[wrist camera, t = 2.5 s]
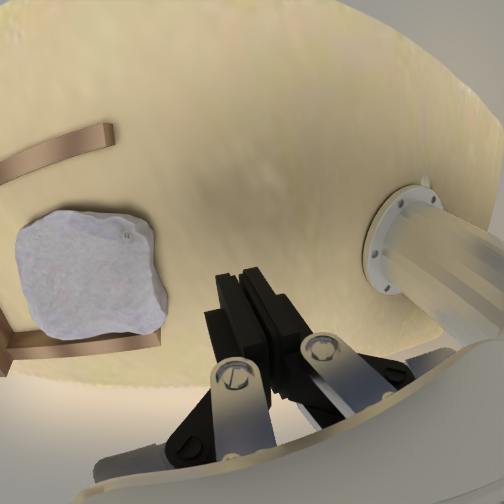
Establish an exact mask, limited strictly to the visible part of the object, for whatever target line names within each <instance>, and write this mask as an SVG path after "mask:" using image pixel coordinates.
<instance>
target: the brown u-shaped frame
mask: <svg viewBox="0 0 504 504" xmlns="http://www.w3.org/2000/svg"><path fill="white" fill-rule="evenodd" d="M112 145H115V142H114V134H113V126H112V124H108V123H101V124H97V125H94V126H90V127H87V128H84V129H81V130H78V131H75V132H72V133H69V134H66V135H63V136H60V137H57V138H55V139H52V140H49V141H47V142H44V143H42V144H39V145H37V146H35V147H32V148H30V149H28V150H25V151H23V152H21V153H19V154H16V155H14V156H12V157H10V158H8V159H6V160H4V161H2V162H0V185H1V184H4V183H6V182H8V181H10V180H12V179H15V178H17V177H19V176H22V175H24V174H27V173H29V172H31V171H34V170H37V169H39V168H42V167H44V166H47V165H50V164H53V163H56V162H58V161H61V160H64V159H67V158H70V157H73V156H77V155H80V154H83V153H86V152H90V151H93V150H97V149H100V148H104V147H108V146H112ZM157 346H161V327H160V328H158V329H157V330H155V331H154V332H153V333H151V334H146V335H141V334H136V333H132V332H123V333H118V332H111V333H105V334H100V335H97V336H94V337H90V338H84V339H74V340H60V339H56V338H52V337H50V336H47V335H46V333H45V332H44V331H42V330H39V331H30V332H20V333H14V332H13V331H12V329H11V327H10V326H9V324H8V322H7V320H6V319H5V317H4V315H3V313H2V311H1V309H0V377H6V376H7V374H8V371H9V369H10V367H11V364H12V362H13V360H24V359H48V358H63V357H76V356H87V355H97V354H106V353H114V352H122V351H130V350H137V349H144V348H150V347H157Z"/></svg>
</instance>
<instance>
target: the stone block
mask: <svg viewBox="0 0 504 504" xmlns="http://www.w3.org/2000/svg"><path fill="white" fill-rule="evenodd" d="M153 253H154V234H153V231H152V229H151V228H150V226H149V225H148V223H147V222H146V221H144V220H143V219H140V218H137V217H134V216H132V215H129V214H118V213H96V212H91V211H86V212H80V211H75V210H56V211H54V212H51V213H49V214H48V215H46V216H45V217H44V218H41V219H38V220H36V221H35V222H33V223H31V224H27V225H25V226H24V227H22V228H21V229H20V231H19V233H18V234H17V238H16V244H15V258H16V261H17V266H18V271H19V276H20V281H21V285H22V290H23V293H24V295H25V297H26V299H27V302H28V307H29V311H30V314H31V316H32V319H33V320H34V322H35V324H36V325H37V326H38V327H39V328H40V329H41V330H42V331H44V332H45V333H46V335H47V336H50V337H52V338H56V339H60V340H74V339H84V338H90V337H94V336H97V335H100V334H105V333H111V332H118V333H123V332H132V333H136V334H141V335H146V334H151V333H153V332H154V331H155V330H157V329H158V328H160V327H161V326H162V324H163V323H164V321H165V319H166V317H167V315H168V297H167V294H166V291H165V289H164V287H163V285H162V282H161V280H160V278H159V275H158V272H157V270H156V269H155V266H154V262H153Z"/></svg>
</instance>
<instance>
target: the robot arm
mask: <svg viewBox="0 0 504 504" xmlns="http://www.w3.org/2000/svg"><path fill="white" fill-rule="evenodd" d="M363 268H364V273H365V276H366V278H367V280H368V282H369V283H370V284H371V286H372V287H374V288H375V289H376V290H377V291H378V292H380V293H382V294H385V295H395V294H399V293H403V294H404V295H405V296H407V297H408V298H409V299H410V300H411V301H412V302H414V303H415V304H416V305H417V306H418V307H419V308H421V309H422V310H423V311H424V312H425V313H426V314H427V315H429V316H430V317H431V318H432V319H433V320H434V321H435V322H436V323H438V324H439V325H440V326H441V327H442V328H443V329H444V330H445V331H446V332H447V333H449V334H450V335H451V336H452V337H453V338H454V339H455V340H456V341H457V342H458V343H459V344H460V345H461V346H462V347H463V348H462V349H460V350H459V351H457V352H456V351H454V350H453V349H451V348H446V347H445V348H440V349H437V350H434V351H431V352H428V353H425V354H422V355H419V356H416V357H413V358H410V359H407V360H405V362H404V363H402V362H398V361H394V360H389V359H384V358H379V357H374V356H369V355H364V354H359V353H356V352H355V351H354V350H353V349H352V348H351V347H349V346H348V345H347V344H346V343H345V342H344V341H343V340H342V339H341V338H339V337H338V336H336V335H334V334H331V333H326V332H319V333H313V332H312V331H311V329H310V328H309V327H308V325H307V324H306V322H305V321H304V320H303V318H302V317H301V315H300V314H299V313H298V311H297V310H296V308H295V307H294V306H293V304H292V303H291V301H290V300H289V299H288V297H287V296H286V295H285V294H279V295H276V294H275V293H274V291H273V290H272V288H271V287H270V285H269V284H268V282H267V281H266V279H265V278H264V276H263V275H262V273H261V272H260V270H259V269H258V267H254V268H249V269H244V270H243V274H239V282H238V280H237V278H236V276H235V275H234V276H230V274H229V273H226V274H221V275H216V276H215V279H216V285H217V291H218V296H219V302H220V309H216V310H211V311H207V312H204V314H205V319H206V323H207V327H208V331H209V335H210V339H211V343H212V347H213V350H214V354H215V357H216V361H217V365H215V366H214V368H213V370H212V371H211V376H210V384H211V388H210V389H209V391H208V392H207V393H206V394H205V396H204V397H203V398H202V399H201V400H200V402H199V403H198V404H197V405H196V407H195V408H194V409H193V410H192V411H191V413H190V414H189V415H188V416H187V417H186V419H185V420H184V421H183V422H182V423H181V425H180V426H179V427H178V428H177V429H176V430H175V432H174V433H173V434H172V435H171V436H170V437H169V439H168V441H167V442H166V443H163V444H160V445H156V444H152V445H148V446H145V447H142V448H139V449H136V450H132V451H129V452H125V453H121V454H118V455H114V456H110V457H106V458H103V459H101V460H99V461H98V462H97V463H96V464H95V466H94V469H93V478H94V481H95V484H94V485H91V486H89V487H87V488H85V489H83V490H82V491H80V492H79V493H77V494H76V495H75V496H74V497H73V498H72V500H71V502H70V504H504V241H502V240H501V239H498V238H497V237H495V236H493V235H492V234H490V233H488V232H486V231H484V230H482V229H480V228H479V227H477V226H475V225H473V224H471V223H469V222H467V221H465V220H463V219H461V218H459V217H456V216H454V215H452V214H450V213H448V212H446V211H444V209H443V206H442V203H441V200H440V199H439V197H438V195H437V194H436V193H435V192H434V191H433V190H431V189H429V188H427V187H424V186H421V185H409V186H406V187H403V188H401V189H400V190H398V191H397V192H395V193H394V194H393V195H392V196H391V197H389V198H388V199H387V200H386V202H385V203H384V204H383V205H382V207H381V208H380V209H379V211H378V213H377V214H376V216H375V218H374V219H373V222H372V224H371V226H370V229H369V231H368V234H367V237H366V241H365V245H364V252H363ZM271 389H272V391H273V393H274V394H276V393H279V394H280V396H281V398H282V399H285V398H288V400H290V401H293V402H296V404H297V406H298V408H299V409H300V411H301V412H302V413H303V414H304V416H305V417H306V418H307V420H308V421H309V422H310V424H311V425H312V426H313V427H314V429H315V430H316V431H317V432H315V433H313V434H310V435H307V436H305V437H302V438H300V439H297V440H294V441H291V442H288V443H285V444H282V445H280V446H277V444H276V440H275V436H274V432H273V428H272V424H271V419H270V415H269V409H270V407H271Z"/></svg>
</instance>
